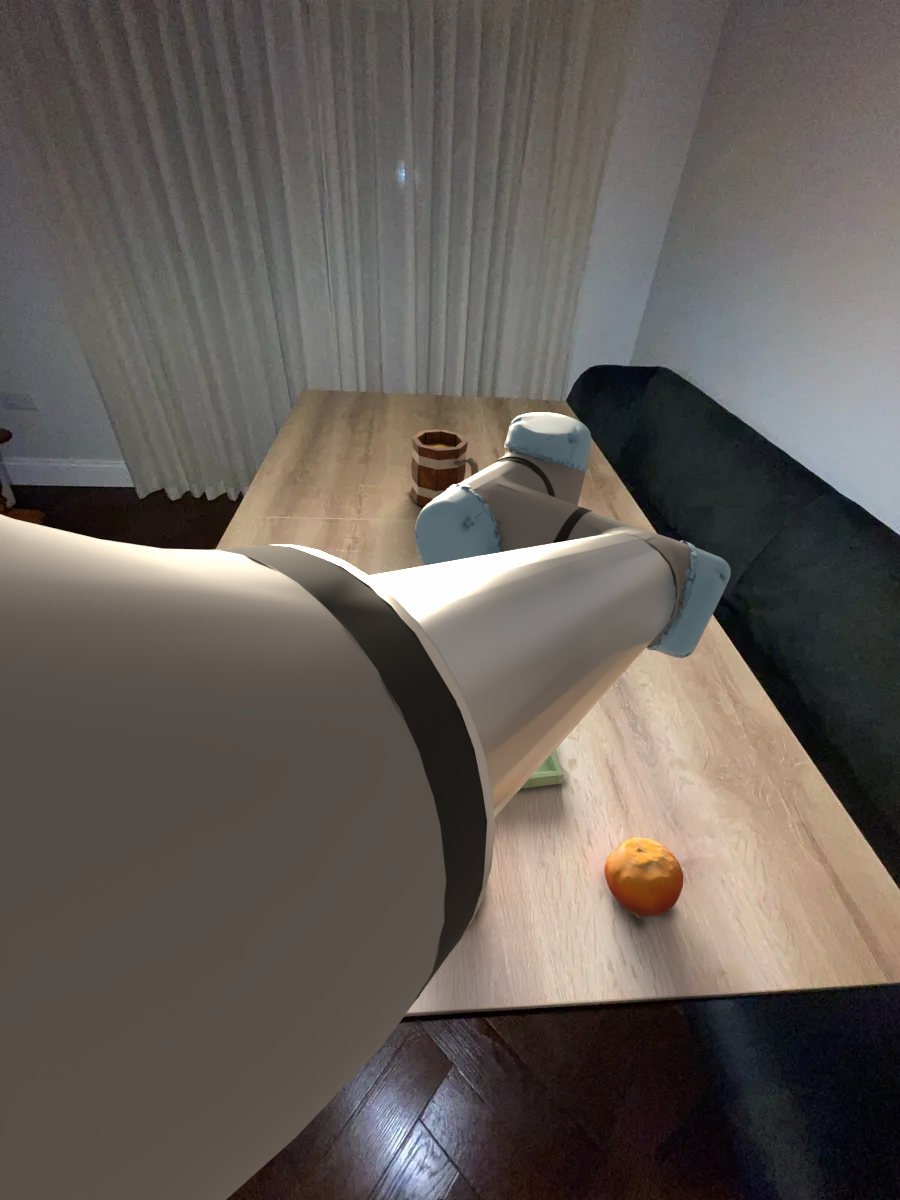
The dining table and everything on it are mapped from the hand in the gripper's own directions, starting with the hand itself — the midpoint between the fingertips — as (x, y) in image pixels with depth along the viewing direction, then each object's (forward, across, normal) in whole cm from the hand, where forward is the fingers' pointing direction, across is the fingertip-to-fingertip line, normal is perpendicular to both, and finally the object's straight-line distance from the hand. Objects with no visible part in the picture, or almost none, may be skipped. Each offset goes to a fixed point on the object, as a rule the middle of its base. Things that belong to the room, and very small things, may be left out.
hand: (501, 706), depth 70 cm
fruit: (+9, -16, -18) cm, 26 cm away
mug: (+9, +71, +21) cm, 75 cm away
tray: (+9, 0, 0) cm, 9 cm away
